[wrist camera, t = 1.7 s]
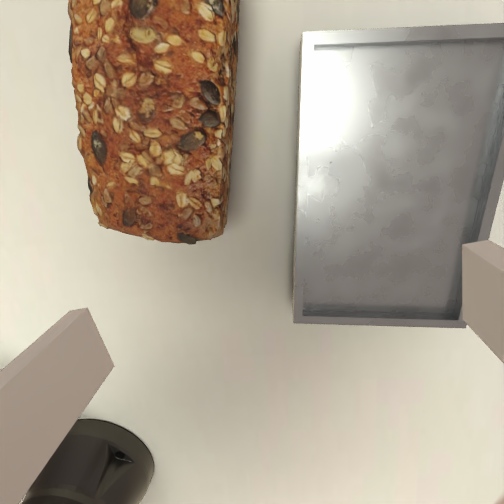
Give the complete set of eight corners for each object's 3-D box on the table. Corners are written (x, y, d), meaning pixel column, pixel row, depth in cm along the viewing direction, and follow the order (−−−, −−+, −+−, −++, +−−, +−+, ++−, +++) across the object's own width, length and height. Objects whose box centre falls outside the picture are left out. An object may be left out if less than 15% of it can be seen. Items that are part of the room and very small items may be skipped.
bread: (233, 219, 32) (214, 256, 23) (128, 207, 33) (68, 238, 24) (250, -10, 26) (232, -88, 16) (117, -21, 26) (27, -103, 17)
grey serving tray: (292, 301, 35) (293, 323, 31) (299, 45, 26) (302, 31, 23) (444, 304, 34) (465, 328, 30) (502, 37, 25) (543, 21, 21)
